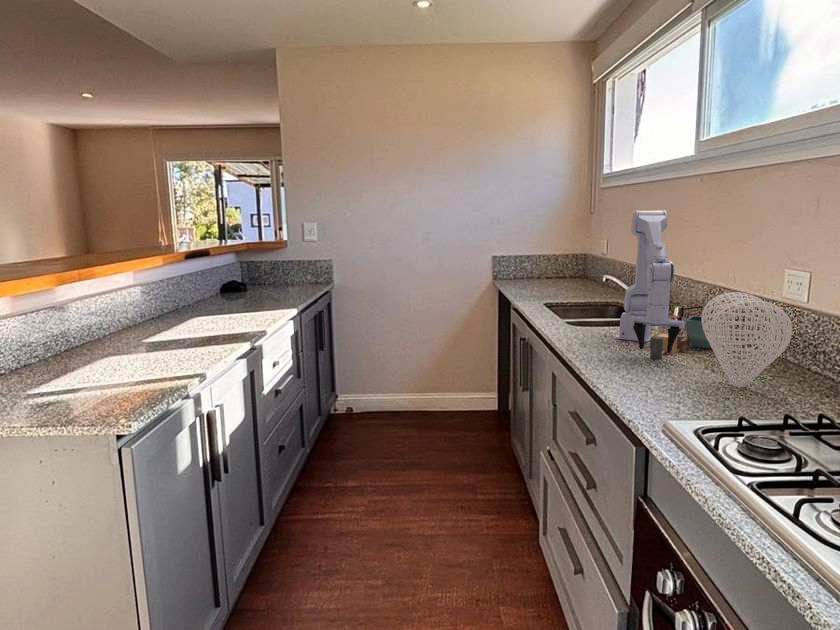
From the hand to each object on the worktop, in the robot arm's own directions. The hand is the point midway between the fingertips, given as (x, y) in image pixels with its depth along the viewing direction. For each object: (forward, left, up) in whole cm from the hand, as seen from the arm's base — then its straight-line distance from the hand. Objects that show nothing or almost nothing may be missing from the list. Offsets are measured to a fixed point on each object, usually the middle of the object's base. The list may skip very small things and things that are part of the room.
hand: (655, 350), depth 166 cm
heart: (+24, -19, -3) cm, 30 cm away
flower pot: (+8, +25, -3) cm, 27 cm away
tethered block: (0, +7, -2) cm, 7 cm away
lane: (0, +17, -3) cm, 17 cm away
